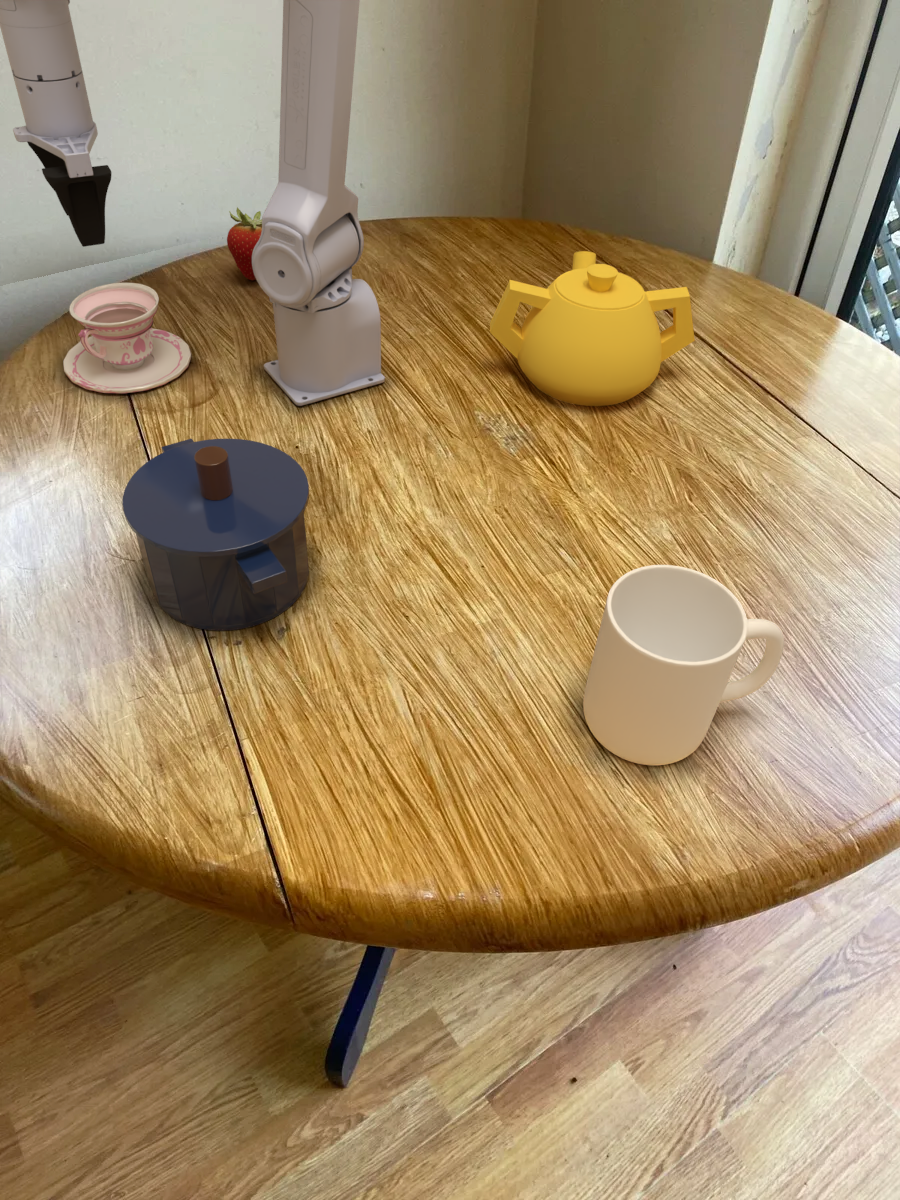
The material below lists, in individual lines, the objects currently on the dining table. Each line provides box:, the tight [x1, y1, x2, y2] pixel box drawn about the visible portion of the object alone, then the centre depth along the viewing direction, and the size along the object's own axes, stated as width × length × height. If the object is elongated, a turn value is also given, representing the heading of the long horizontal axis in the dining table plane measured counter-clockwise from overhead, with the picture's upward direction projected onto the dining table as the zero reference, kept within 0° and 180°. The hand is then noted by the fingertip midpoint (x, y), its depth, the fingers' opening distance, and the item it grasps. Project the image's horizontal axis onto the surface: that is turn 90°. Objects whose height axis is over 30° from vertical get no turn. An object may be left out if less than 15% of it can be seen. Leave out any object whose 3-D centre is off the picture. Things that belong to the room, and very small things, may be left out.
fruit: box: [226, 207, 262, 281], centre depth 100 cm, size 5×5×8 cm
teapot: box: [489, 250, 696, 407], centre depth 89 cm, size 20×18×11 cm
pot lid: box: [121, 438, 310, 557], centre depth 62 cm, size 13×13×4 cm
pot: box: [135, 438, 310, 632], centre depth 66 cm, size 12×17×8 cm
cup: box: [582, 564, 785, 766], centre depth 57 cm, size 8×12×10 cm
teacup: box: [62, 282, 192, 394], centre depth 87 cm, size 12×12×6 cm
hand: (84, 228), depth 88 cm, fingers open, 7 cm apart
